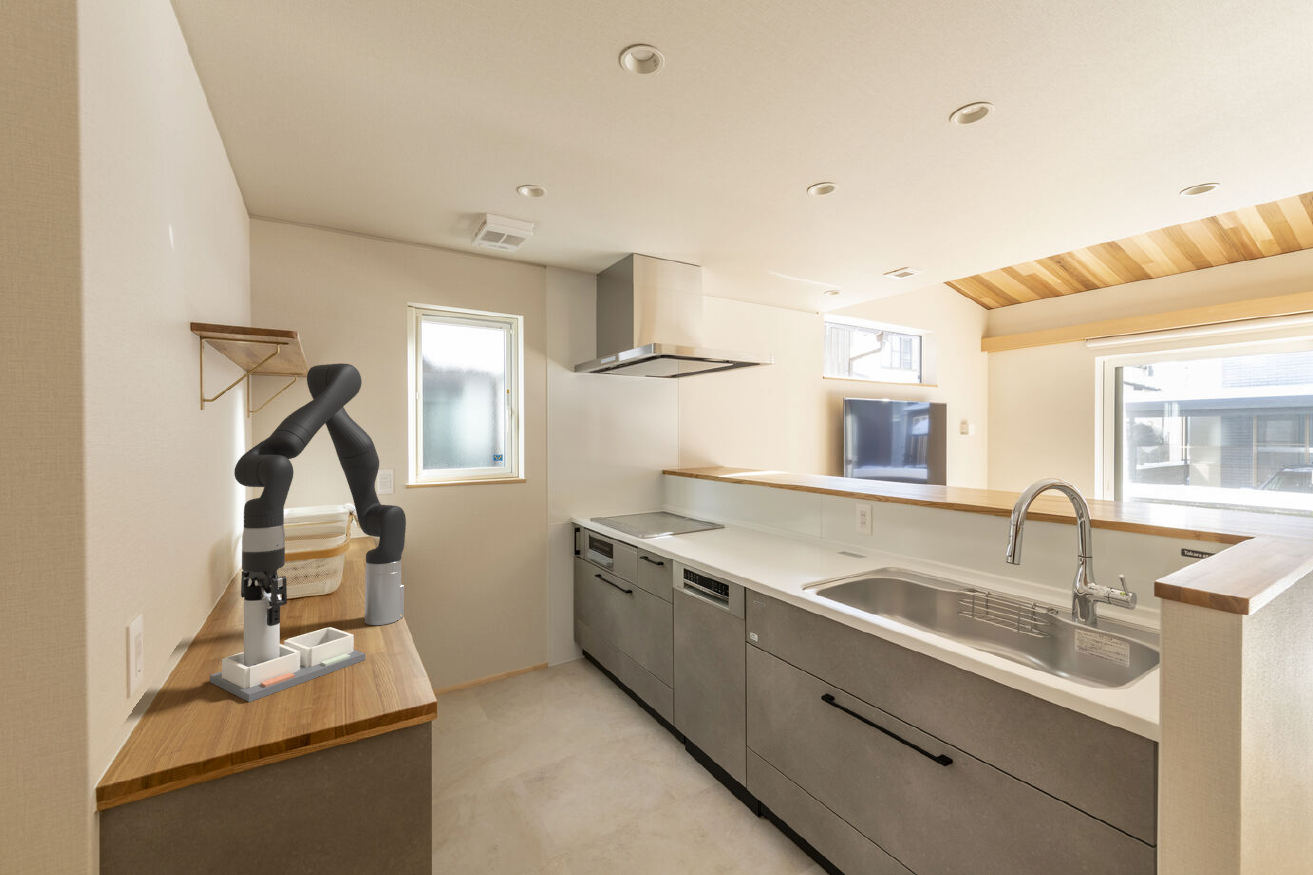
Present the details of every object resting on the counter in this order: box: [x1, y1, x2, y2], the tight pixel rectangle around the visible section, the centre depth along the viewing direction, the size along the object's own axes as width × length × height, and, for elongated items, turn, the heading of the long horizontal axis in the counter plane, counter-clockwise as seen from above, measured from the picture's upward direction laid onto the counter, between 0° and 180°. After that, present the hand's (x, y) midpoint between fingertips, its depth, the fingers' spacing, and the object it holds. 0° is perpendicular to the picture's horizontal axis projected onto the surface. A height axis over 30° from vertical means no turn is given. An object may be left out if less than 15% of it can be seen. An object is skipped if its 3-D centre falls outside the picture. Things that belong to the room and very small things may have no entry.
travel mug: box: [243, 586, 281, 667], centre depth 116 cm, size 6×7×20 cm
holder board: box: [209, 626, 366, 703], centre depth 122 cm, size 24×17×6 cm
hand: (263, 621), depth 117 cm, fingers open, 8 cm apart
